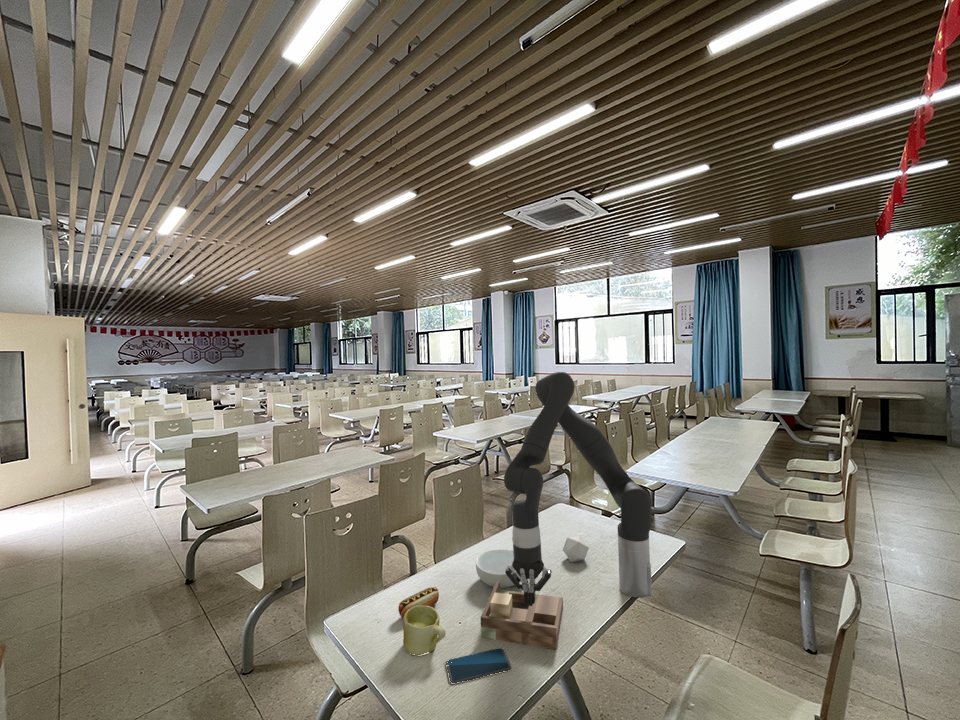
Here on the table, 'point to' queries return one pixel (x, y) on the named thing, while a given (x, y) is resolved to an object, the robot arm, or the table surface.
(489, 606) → the box
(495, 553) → the cereal bowl
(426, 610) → the mug
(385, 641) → the table surface
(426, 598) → the hot dog
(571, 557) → the die
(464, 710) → the table surface
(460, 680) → the smartphone
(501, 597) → the maple block
